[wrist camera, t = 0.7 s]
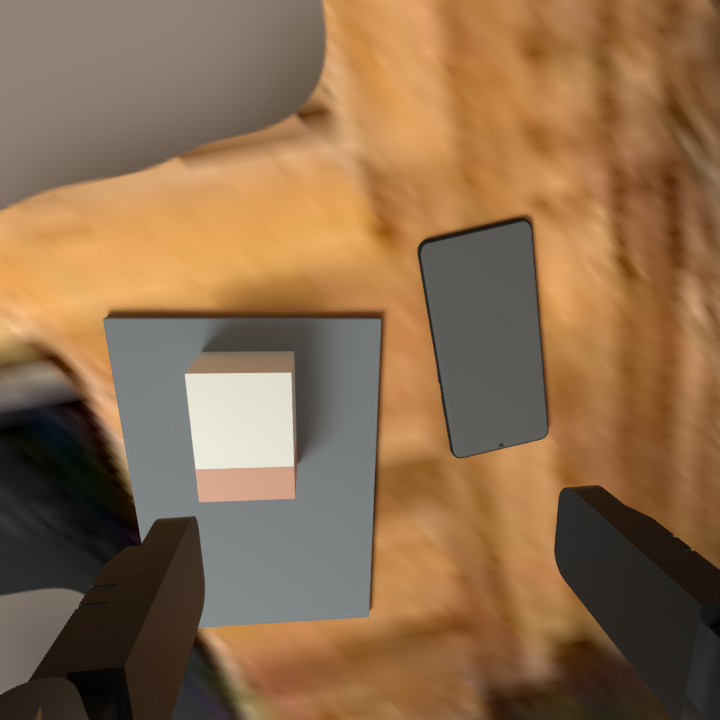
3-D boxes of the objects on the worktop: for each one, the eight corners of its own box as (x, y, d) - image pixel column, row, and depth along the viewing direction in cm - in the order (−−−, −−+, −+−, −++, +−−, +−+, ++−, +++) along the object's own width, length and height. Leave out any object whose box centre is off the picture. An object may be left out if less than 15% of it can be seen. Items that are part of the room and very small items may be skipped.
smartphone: (532, 216, 26) (550, 438, 31) (525, 215, 27) (543, 432, 32) (416, 243, 26) (453, 461, 31) (413, 241, 27) (449, 454, 32)
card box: (201, 351, 27) (184, 373, 23) (294, 351, 27) (291, 372, 24) (212, 467, 29) (199, 502, 26) (297, 464, 30) (295, 498, 27)
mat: (106, 316, 26) (102, 318, 26) (380, 317, 28) (381, 319, 27) (158, 624, 34) (156, 630, 34) (368, 611, 36) (368, 617, 35)
